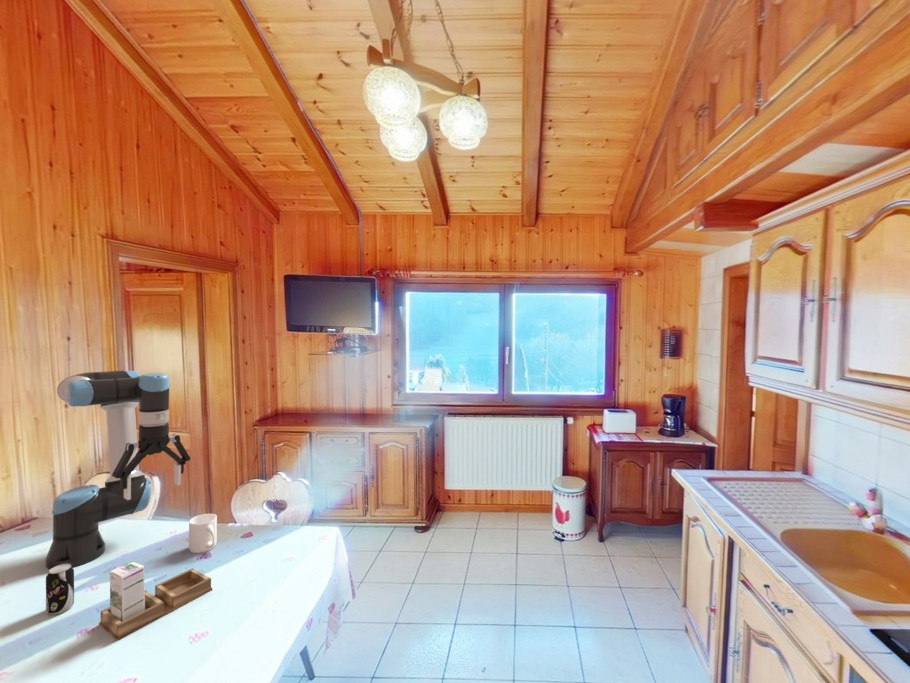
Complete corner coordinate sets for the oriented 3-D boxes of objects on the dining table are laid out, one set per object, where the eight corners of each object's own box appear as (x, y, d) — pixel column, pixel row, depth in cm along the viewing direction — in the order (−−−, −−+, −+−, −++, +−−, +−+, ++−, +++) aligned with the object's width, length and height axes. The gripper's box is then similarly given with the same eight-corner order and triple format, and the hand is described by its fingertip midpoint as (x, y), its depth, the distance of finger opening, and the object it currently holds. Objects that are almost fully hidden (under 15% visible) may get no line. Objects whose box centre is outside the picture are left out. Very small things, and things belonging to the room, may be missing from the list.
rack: (99, 624, 110) (99, 611, 110) (192, 578, 131) (192, 567, 131) (117, 640, 105) (117, 626, 104) (212, 589, 125) (212, 578, 125)
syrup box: (146, 616, 113) (146, 564, 112) (121, 630, 107) (121, 576, 107) (133, 610, 115) (133, 559, 114) (108, 624, 109) (108, 570, 109)
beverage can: (41, 618, 112) (41, 575, 111) (52, 605, 117) (52, 564, 117) (68, 613, 114) (68, 571, 114) (77, 600, 119) (77, 560, 119)
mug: (200, 559, 142) (200, 529, 141) (184, 549, 148) (184, 520, 148) (225, 549, 149) (226, 520, 148) (209, 539, 155) (209, 511, 155)
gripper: (109, 434, 114) (108, 508, 114) (202, 418, 135) (201, 481, 136) (98, 429, 117) (98, 502, 118) (190, 415, 139) (189, 476, 140)
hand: (153, 491), depth 127 cm, fingers open, 13 cm apart
